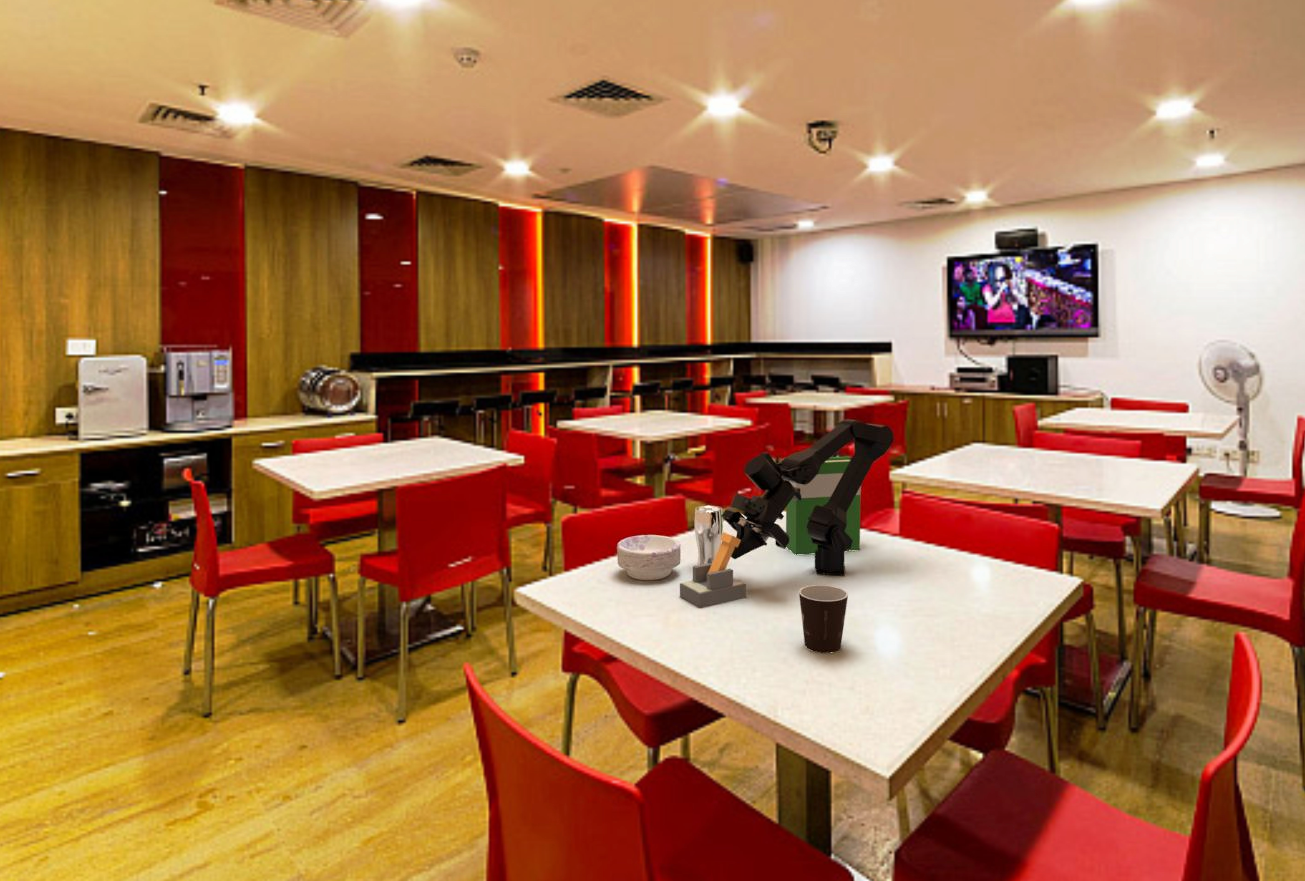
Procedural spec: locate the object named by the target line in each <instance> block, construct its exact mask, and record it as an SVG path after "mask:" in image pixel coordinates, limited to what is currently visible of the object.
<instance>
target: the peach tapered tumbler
mask: <svg viewBox="0 0 1305 881" xmlns="http://www.w3.org/2000/svg"><path fill="white" fill-rule="evenodd" d="M694 513H695V514H694V535H695V541H696V547H697V554H698V557H697V561H696V562H697V564H696V566H698V565H703V564H708V563H713V560H714V558H715V556H716V554H717V551H718V549H719V547H720V545H721V542H722V540H720V538H721V536H722V534H723V532H724V519H723V518H722V514H723V508H722V507H721V506H718V505H717V506H716V505H701V506H697V507H695V509H694Z"/></svg>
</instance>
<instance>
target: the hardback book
mask: <svg viewBox="0 0 1305 881" xmlns="http://www.w3.org/2000/svg"><path fill="white" fill-rule="evenodd" d="M851 459H852V457H851V456H836V457H833V456H832V457H830V458H829V459H828V460H827V461H825V462H824V463H823V464H822V465H821V468H820V471H819V473H818V474H817V475H816V476H815V478H814V479H813V480H812V481H811V482H810V483H808V484H806V485H803V484H798V483H794V482H790V481H789V482H790V483H791V484H792V485H793V486H794V487H796V488H800V493H801V498H802V499H801V500H800V501H799V500H796V499H791V501H790V502H789V504H788V505H787V506H786V508H785V512H786V513H785V532H786V533H787V535H788V536H789V544H788V545H787V548H788V549H787V548H786V549H787V550H789V551H790V550H791V551H792V552H791V551H790V552H791V553H792V554H794V555H795V554H796V555H795V556H798V555H797V554H804V555H810V554H809V553H815V550H817V547H818V545H817V544H813V543H812V541H811V538H810V536H809V534H808V529H807V524H808V521H809V520H808V517H810V515H811V514H812V512H813V509H814V507H815V506H816V505H819V506H824V505H825V504H826V503H827V502H828V501H829V499H830V497H831V495H832V494H833V492H834V490H835V488H836V486H837V484H838V482H839V481H840V479H841V477H842V475H843V473H844V471H845V470H846V468H847V466H848V464H849V462H850V460H851ZM861 488H862V485H861V486H860V488H859V490H858V492H857V494H856V496H855V497H854V499H853V501H852V503H851V505H850V507H849V509H848V511H847V513H846V515H847V526H846V529H845V532H846V533H847V534H848V535H849V537H850V538H851V539H852V540H853V542H852V546H851V549H847V552H850V551H849V550H860V547H861V545H860V544H861V542H860V541H861V500H862V499H861V498H862V496H861V492H862V489H861Z"/></svg>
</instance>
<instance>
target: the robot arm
mask: <svg viewBox="0 0 1305 881" xmlns="http://www.w3.org/2000/svg"><path fill="white" fill-rule="evenodd" d="M894 436H895V435H894V433H893V430H892V428H891V427H890V426H888V425H884V424H883V425H882V424H875V423H874V424H873V423H865V422H862V421H860V420H856V419H855V420H854V419H847V418H846V419H844V420H843V419H842V420H841V421H840V422H839V424H838V425H837V426H835V427H834V428H833V429H832V430H831V431H829V432H828V433H827V434H824V435H823V437H821V438H820V439H819V440H818V441H816V442H814V443H813V444H812V445H810V447H808V448H806V449H804V450H801V451H798V452H794V453H792V454H790V455H787V456H786V457H784V458H783V459H782V461H781V462H776V461H775V460H774V459H773V457H772V456H771V455H770V453H769V452H763V451H762V452H761V454H759V455H757V456H755V457H753V458H752V459H750V460H748V461H747V463H745V466H744V468H743V473H744V474H745V475H746V477H747V478H749V479H750V481H752V484H754V485H755V486H756V487H757V488H758V489H759V490H760V491H765V492H763V494H762V496H761V497H760V496H758V495H753V496H752V497H748V496H745V495H741V494H738V493H735V494H734V496H733V499H732V501H731V503H730V508H727V509H725V510H724V511H723V512H722V518H723V521H725V523H727V524H728V525H729V526H730V527H731V529H733V530H734V532H735V531H736V536H735V537H736V538H738V539H740V540H741V541H740V544H739V546H738V548H737V547H735V548H734V551H733V553H732V555H731V557H730V558H731V559H733V560H736V559H737V560H738V559H739V558H740V557H742V556H744V555H746V554H748V553H750V552H753V551H754V550H756V549H759V548H761V547H763V546H767V545H768V543H767V541H768V539H769V538H770V539H771V538H772V539H774V541H775V546H776V547H778V548H781V549H783V550H786V549H787V548H786V547H787V545H788V544H789V536H788V535H787V533H786V530H784V529H783V528H782V527H781V526H780V525H779V524H777V523H776V521H777V520H778V519H779V520H783V518H784V517H785V516H784V515H783V514H782V513H783V512H784V510H786V506H787V505H788V504H789V502H790V501H791V499H796V500H799V501H800V500H801V499H802V498H801V493H800V488H796V487H794V486H793V485H792V484H791V483H790V482H794V483H798V484H803V485H806V484H808V483H810V482H811V481H812V480H813V479H814V478H815V476H816V475H817V474H818V473H819V471H820V468H821V465H822V464H823V463H824V462H825V461H827V460H828V459H829V458H830V457H833V456H834V455H836V454H837V453H838V452H839V451H841V449H843V448H844V447H846V446H847V445H848V444H850V443H851V442H852V441H853V440H854V441H853V446H854V447H853V449H854V453H853V455H852V457H851V459H850V462H849V464H848V466H847V468H846V470H845V471H844V473H843V475H842V477H841V479H840V481H839V482H838V484H837V486H836V488H835V490H834V492H833V494H832V495H831V497H830V499H829V501H828V502H827V503H826V504H825V505H824V506H819V505H816V506H815V507H814V509H813V512H812V514H811V515H810V517H808V520H809V521H808V524H807V529H808V534H809V536H810V538H811V541H812V543H813V544H817V545H818V547H817V550H815V554H814V569H815V570H816V574H817V575H829V576H830V575H832V576H845V573H846V572H845V571H846V566H845V555H846V552H845V551H847V549H851V546H852V542H853V540H852V539H851V538H850V537H849V535H848V534H847V533H846V532H845V529H846V526H847V515H846V513H847V511H848V509H849V507H850V505H851V503H852V501H853V499H854V497H855V496H856V494H857V492H858V490H859V488H860V486H861V487H862V485H863V483H864V480H865V478H866V477H867V475H868V473H869V471H870V469H871V468H872V466H873V464H874V462H876V461H878V460H879V459H880V458H882V457H883V456H885V455H886V453H887V452H888V450H889V449H890V448H891V446H892V445H893V443H894V441H895V437H894ZM789 481H790V482H789ZM732 508H733V509H732ZM735 509H737V510H735ZM738 510H740V511H741V512H740V511H738ZM847 552H848V551H847Z"/></svg>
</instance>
